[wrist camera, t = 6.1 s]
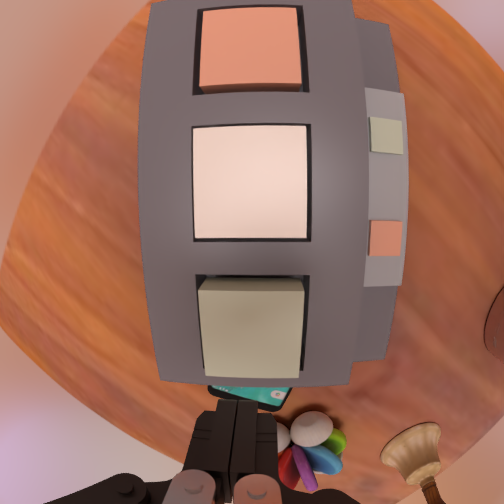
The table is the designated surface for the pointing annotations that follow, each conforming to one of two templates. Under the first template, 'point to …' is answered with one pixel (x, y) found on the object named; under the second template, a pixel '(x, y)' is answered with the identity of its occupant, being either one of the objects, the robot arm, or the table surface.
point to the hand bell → (416, 458)
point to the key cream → (250, 182)
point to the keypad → (318, 189)
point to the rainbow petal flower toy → (309, 449)
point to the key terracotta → (250, 50)
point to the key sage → (251, 326)
